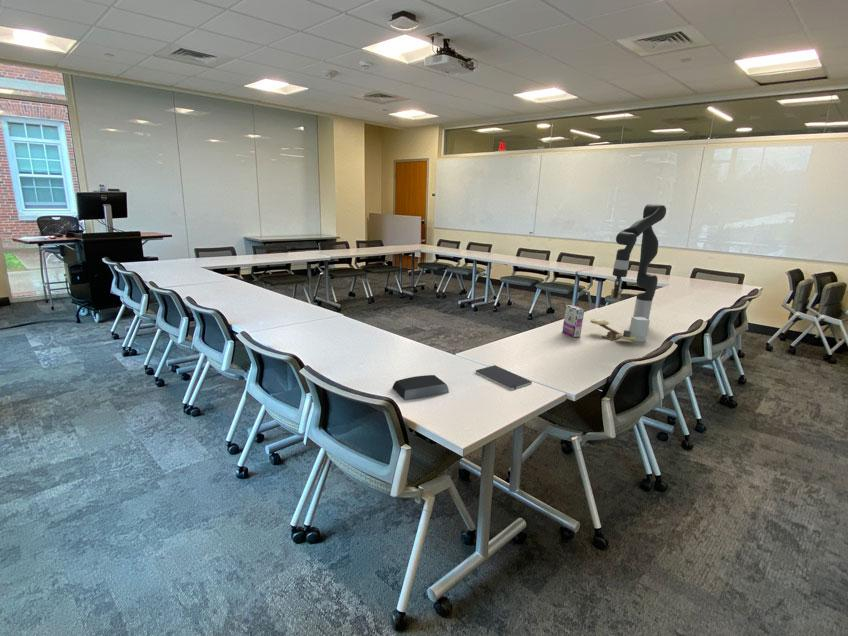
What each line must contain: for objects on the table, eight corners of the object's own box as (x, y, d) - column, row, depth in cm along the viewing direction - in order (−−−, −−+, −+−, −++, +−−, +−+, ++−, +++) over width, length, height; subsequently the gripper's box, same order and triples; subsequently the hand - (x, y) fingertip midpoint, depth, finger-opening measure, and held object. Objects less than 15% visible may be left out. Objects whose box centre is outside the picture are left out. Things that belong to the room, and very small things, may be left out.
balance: (585, 332, 266) (587, 320, 264) (595, 330, 272) (597, 318, 270) (628, 346, 245) (631, 333, 243) (638, 343, 250) (641, 330, 248)
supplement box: (646, 342, 254) (650, 320, 251) (633, 341, 254) (637, 319, 251) (640, 337, 261) (644, 317, 258) (627, 337, 261) (631, 316, 258)
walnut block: (611, 296, 264) (612, 288, 263) (620, 297, 262) (621, 289, 261) (610, 297, 260) (611, 289, 258) (619, 299, 258) (621, 290, 256)
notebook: (531, 384, 189) (494, 368, 205) (531, 381, 189) (494, 365, 205) (511, 391, 181) (474, 373, 197) (511, 388, 181) (474, 370, 197)
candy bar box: (580, 337, 256) (585, 309, 252) (573, 337, 254) (577, 309, 250) (569, 331, 266) (573, 304, 262) (561, 331, 265) (565, 304, 260)
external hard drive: (450, 394, 176) (450, 384, 175) (404, 402, 167) (405, 392, 166) (434, 381, 187) (434, 372, 186) (391, 388, 178) (391, 378, 177)
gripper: (614, 265, 264) (609, 294, 269) (612, 268, 252) (607, 298, 256) (628, 267, 261) (623, 296, 265) (627, 270, 249) (621, 300, 253)
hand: (615, 296), depth 261 cm, fingers closed on walnut block, 5 cm apart
